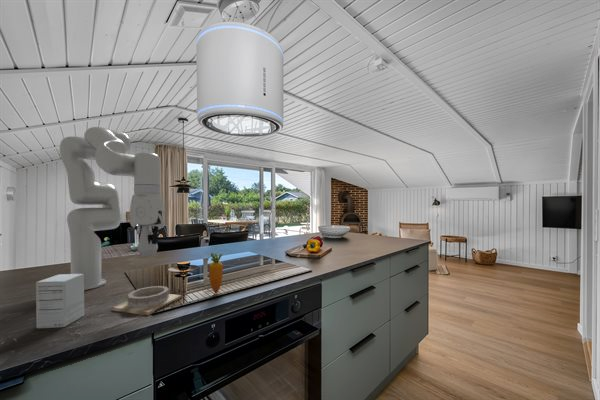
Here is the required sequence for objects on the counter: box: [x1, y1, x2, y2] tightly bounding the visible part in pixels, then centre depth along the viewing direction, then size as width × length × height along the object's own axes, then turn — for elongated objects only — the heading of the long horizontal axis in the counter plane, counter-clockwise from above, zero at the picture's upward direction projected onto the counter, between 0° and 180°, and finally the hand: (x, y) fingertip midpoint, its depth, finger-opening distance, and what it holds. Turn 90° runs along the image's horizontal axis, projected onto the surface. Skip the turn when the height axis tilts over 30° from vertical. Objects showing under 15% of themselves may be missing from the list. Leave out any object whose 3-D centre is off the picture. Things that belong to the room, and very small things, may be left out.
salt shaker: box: [136, 225, 159, 258], centre depth 84 cm, size 6×6×13 cm
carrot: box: [208, 252, 224, 294], centre depth 93 cm, size 5×5×15 cm
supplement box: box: [35, 273, 85, 329], centre depth 72 cm, size 7×7×13 cm
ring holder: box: [111, 285, 183, 316], centre depth 84 cm, size 14×14×4 cm
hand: (147, 245), depth 84 cm, fingers closed on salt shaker, 3 cm apart
